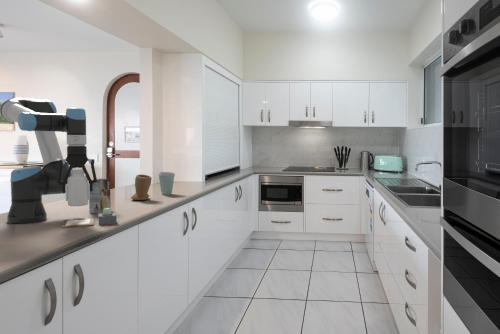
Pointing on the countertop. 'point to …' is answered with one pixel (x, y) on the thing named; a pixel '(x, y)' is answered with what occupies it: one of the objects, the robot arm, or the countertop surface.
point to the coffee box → (100, 196)
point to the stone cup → (142, 187)
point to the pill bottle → (77, 188)
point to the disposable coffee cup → (166, 182)
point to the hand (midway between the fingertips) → (78, 199)
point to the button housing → (107, 219)
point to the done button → (106, 211)
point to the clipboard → (78, 222)
